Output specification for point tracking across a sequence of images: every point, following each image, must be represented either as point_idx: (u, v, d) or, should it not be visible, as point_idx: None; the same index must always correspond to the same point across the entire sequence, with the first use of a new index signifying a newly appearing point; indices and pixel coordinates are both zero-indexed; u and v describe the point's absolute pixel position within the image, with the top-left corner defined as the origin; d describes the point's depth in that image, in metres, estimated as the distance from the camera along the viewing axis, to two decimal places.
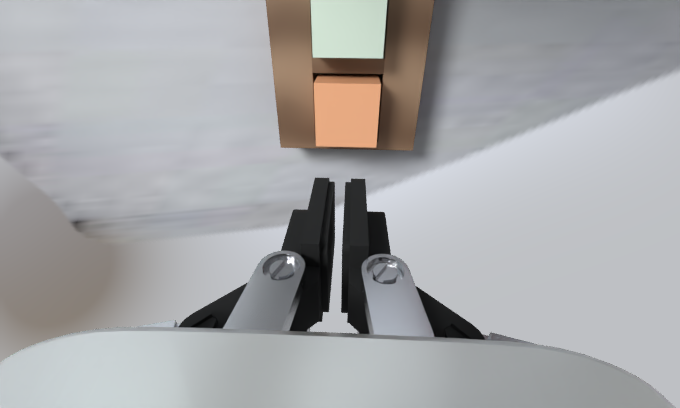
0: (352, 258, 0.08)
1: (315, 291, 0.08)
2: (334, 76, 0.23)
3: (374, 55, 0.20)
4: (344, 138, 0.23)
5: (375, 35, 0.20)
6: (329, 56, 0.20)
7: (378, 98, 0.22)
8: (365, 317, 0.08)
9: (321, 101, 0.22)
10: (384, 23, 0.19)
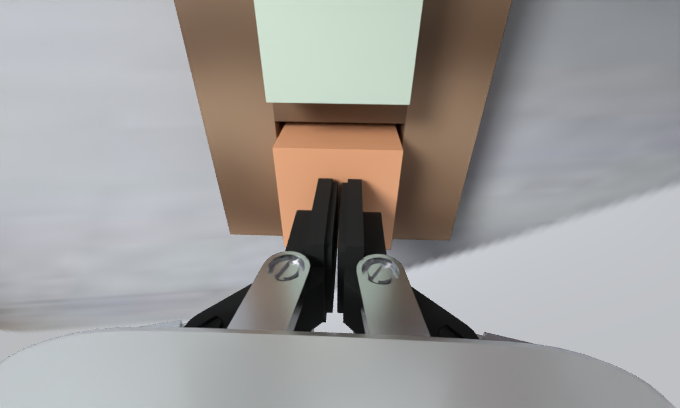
0: (347, 258, 0.08)
1: (319, 292, 0.08)
2: (315, 125, 0.13)
3: (392, 99, 0.10)
4: None
5: (396, 59, 0.09)
6: (300, 100, 0.10)
7: (397, 174, 0.11)
8: (360, 318, 0.08)
9: (289, 179, 0.12)
10: (416, 34, 0.09)
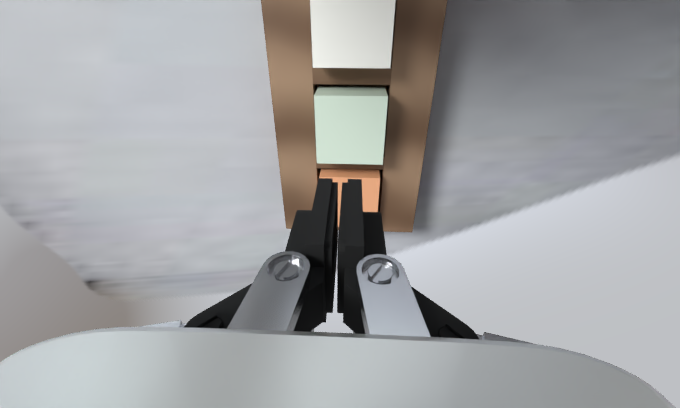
0: (347, 258, 0.08)
1: (320, 292, 0.08)
2: None
3: (374, 162, 0.22)
4: None
5: (375, 146, 0.21)
6: (332, 162, 0.22)
7: (377, 189, 0.24)
8: (360, 318, 0.08)
9: None
10: (383, 137, 0.21)
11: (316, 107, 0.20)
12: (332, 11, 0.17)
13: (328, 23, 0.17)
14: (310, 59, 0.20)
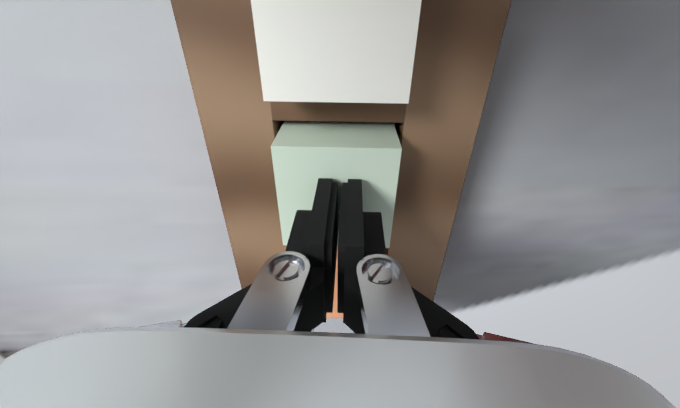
0: (347, 258, 0.08)
1: (320, 292, 0.08)
2: None
3: None
4: (334, 310, 0.17)
5: None
6: None
7: None
8: (360, 318, 0.08)
9: None
10: (392, 210, 0.12)
11: (276, 164, 0.11)
12: None
13: (287, 17, 0.09)
14: None
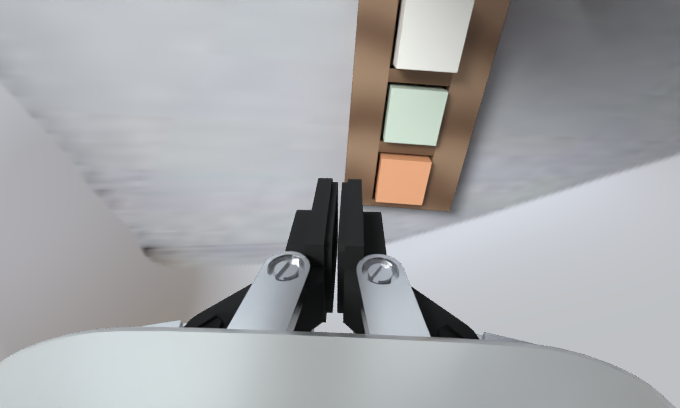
0: (347, 258, 0.08)
1: (320, 292, 0.08)
2: None
3: (429, 143, 0.28)
4: (398, 197, 0.31)
5: (432, 131, 0.27)
6: (396, 142, 0.28)
7: (428, 171, 0.29)
8: (360, 317, 0.08)
9: (385, 171, 0.29)
10: (440, 123, 0.27)
11: (392, 97, 0.26)
12: (420, 26, 0.22)
13: (414, 34, 0.22)
14: (389, 61, 0.25)
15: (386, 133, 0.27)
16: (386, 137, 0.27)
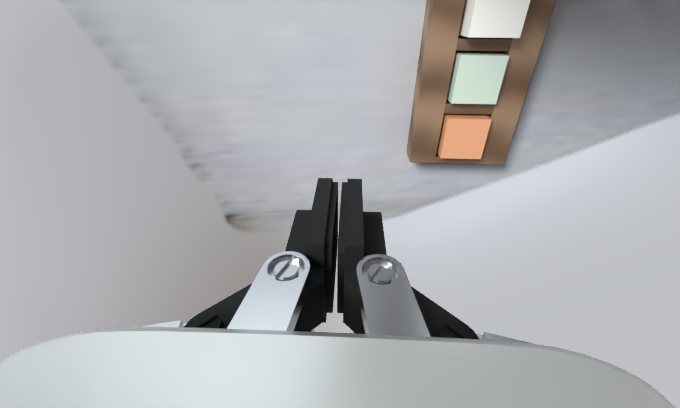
0: (347, 258, 0.08)
1: (320, 292, 0.08)
2: None
3: (490, 102, 0.32)
4: (460, 153, 0.35)
5: (493, 91, 0.32)
6: (462, 103, 0.32)
7: (488, 128, 0.34)
8: (360, 317, 0.08)
9: (450, 130, 0.34)
10: (500, 84, 0.31)
11: (460, 63, 0.30)
12: None
13: (485, 7, 0.27)
14: (458, 32, 0.30)
15: (453, 95, 0.32)
16: (453, 99, 0.32)
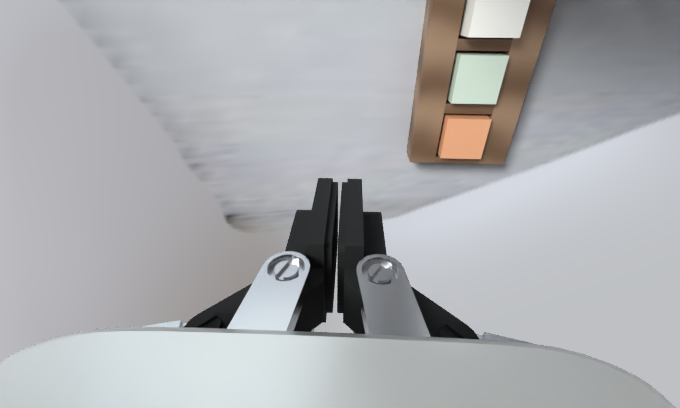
0: (347, 258, 0.08)
1: (320, 292, 0.08)
2: None
3: (490, 102, 0.32)
4: (460, 153, 0.35)
5: (493, 91, 0.32)
6: (462, 103, 0.32)
7: (488, 128, 0.34)
8: (360, 317, 0.08)
9: (450, 130, 0.34)
10: (500, 84, 0.31)
11: (460, 63, 0.30)
12: None
13: (485, 7, 0.27)
14: (458, 32, 0.30)
15: (453, 95, 0.32)
16: (453, 99, 0.32)
